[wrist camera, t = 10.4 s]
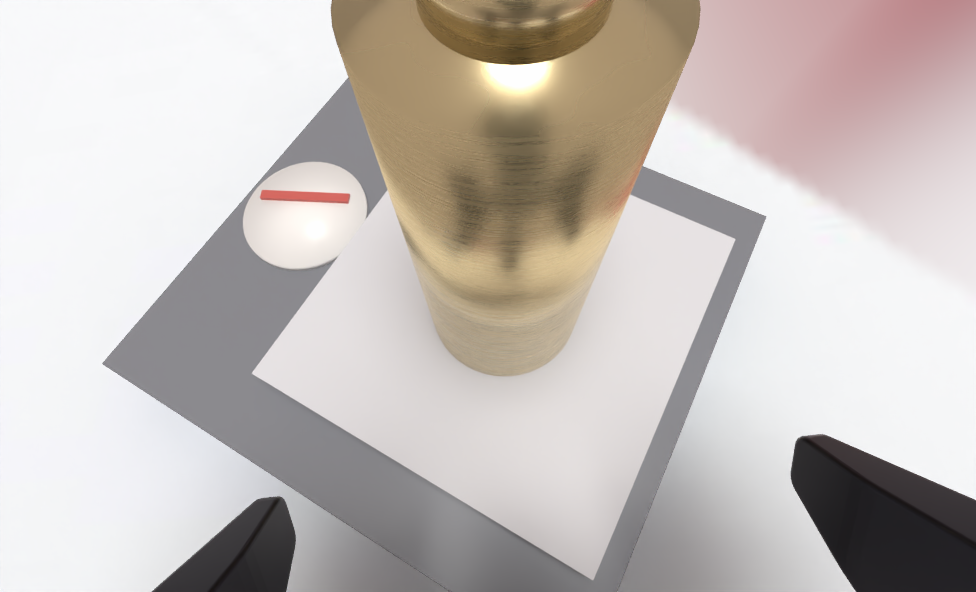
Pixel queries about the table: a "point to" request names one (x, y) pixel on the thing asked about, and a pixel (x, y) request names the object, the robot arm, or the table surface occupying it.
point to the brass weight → (511, 149)
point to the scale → (441, 371)
